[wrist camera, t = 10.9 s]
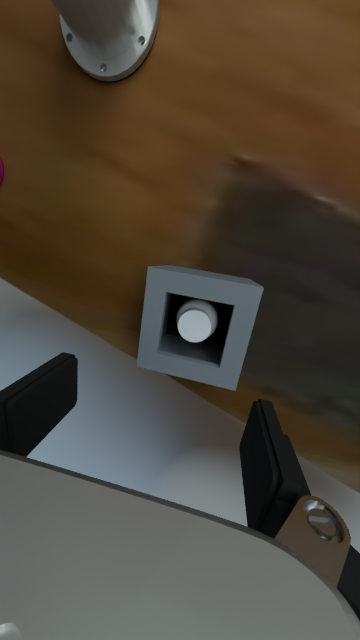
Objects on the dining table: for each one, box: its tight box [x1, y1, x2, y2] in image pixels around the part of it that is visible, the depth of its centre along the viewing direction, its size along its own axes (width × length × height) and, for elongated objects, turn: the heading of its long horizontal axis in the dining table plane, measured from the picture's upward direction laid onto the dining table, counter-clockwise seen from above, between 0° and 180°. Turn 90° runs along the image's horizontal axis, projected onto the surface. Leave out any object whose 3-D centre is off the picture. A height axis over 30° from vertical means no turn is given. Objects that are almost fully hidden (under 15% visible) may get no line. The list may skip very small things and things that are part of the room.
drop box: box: [137, 265, 264, 391], centre depth 29 cm, size 12×12×11 cm
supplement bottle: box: [176, 297, 218, 343], centre depth 30 cm, size 5×5×10 cm
